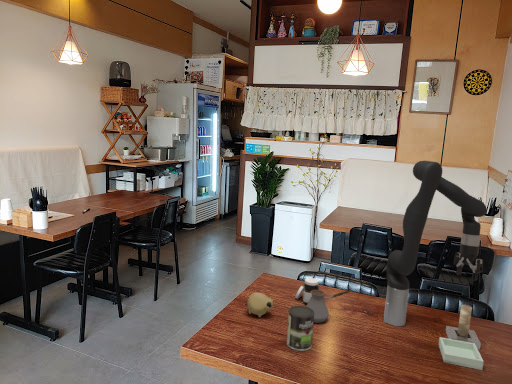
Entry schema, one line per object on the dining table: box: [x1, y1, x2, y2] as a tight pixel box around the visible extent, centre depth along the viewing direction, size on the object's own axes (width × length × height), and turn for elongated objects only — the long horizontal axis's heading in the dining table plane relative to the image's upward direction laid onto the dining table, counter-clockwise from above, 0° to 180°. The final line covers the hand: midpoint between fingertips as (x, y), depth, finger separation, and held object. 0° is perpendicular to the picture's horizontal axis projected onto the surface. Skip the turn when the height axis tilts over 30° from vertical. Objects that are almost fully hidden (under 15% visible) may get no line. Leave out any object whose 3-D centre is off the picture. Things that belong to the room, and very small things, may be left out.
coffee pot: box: [305, 289, 353, 324], centre depth 173 cm, size 21×12×15 cm, turn 87°
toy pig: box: [246, 292, 274, 318], centre depth 175 cm, size 10×12×11 cm
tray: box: [438, 336, 484, 371], centre depth 149 cm, size 13×13×4 cm
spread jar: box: [294, 277, 320, 305], centre depth 192 cm, size 12×11×12 cm
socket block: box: [445, 325, 482, 350], centre depth 162 cm, size 11×11×2 cm
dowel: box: [457, 304, 473, 338], centre depth 161 cm, size 4×4×15 cm
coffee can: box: [286, 305, 314, 352], centre depth 152 cm, size 10×10×14 cm
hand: (466, 277), depth 178 cm, fingers open, 8 cm apart
